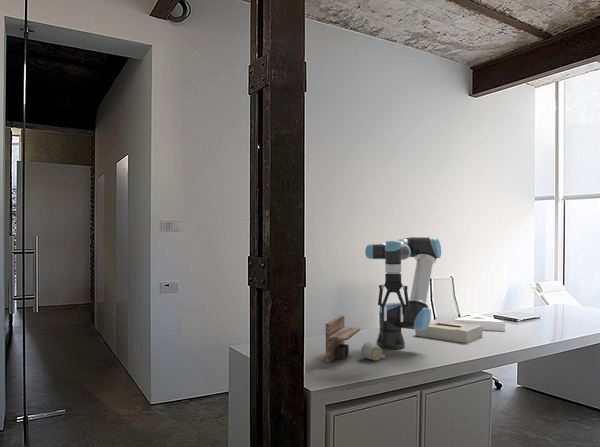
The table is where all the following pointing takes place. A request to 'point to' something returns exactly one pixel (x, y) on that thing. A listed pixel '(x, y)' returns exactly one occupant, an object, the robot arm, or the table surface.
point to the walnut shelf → (338, 338)
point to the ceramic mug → (372, 352)
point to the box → (451, 331)
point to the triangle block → (483, 322)
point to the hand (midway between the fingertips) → (393, 320)
